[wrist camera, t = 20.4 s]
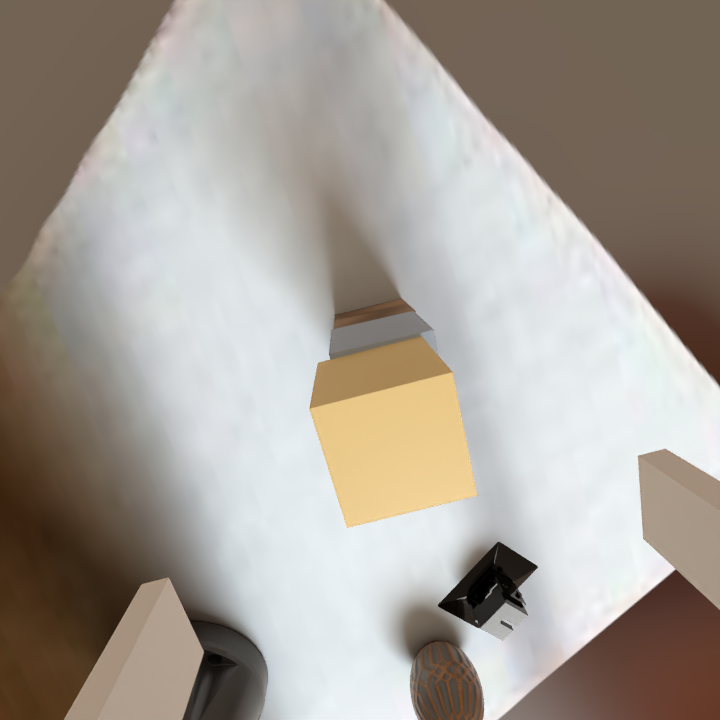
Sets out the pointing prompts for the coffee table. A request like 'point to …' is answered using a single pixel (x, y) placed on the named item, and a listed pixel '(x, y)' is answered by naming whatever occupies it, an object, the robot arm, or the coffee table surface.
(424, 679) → the vase
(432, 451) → the yellow cube
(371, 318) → the walnut brick
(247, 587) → the coffee table surface
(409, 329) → the gray brick
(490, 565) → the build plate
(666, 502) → the robot arm
